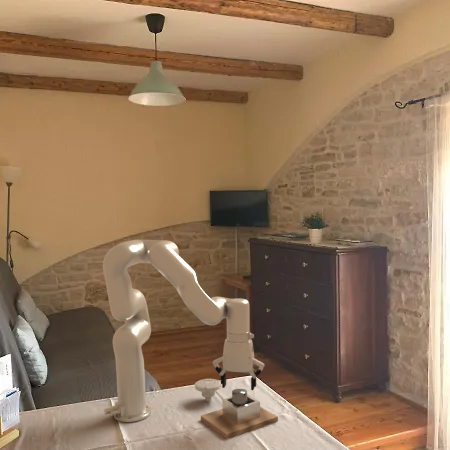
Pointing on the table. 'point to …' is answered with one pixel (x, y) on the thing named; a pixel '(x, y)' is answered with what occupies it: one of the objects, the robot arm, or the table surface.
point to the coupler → (239, 397)
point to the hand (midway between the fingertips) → (238, 387)
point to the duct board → (238, 417)
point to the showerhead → (208, 387)
